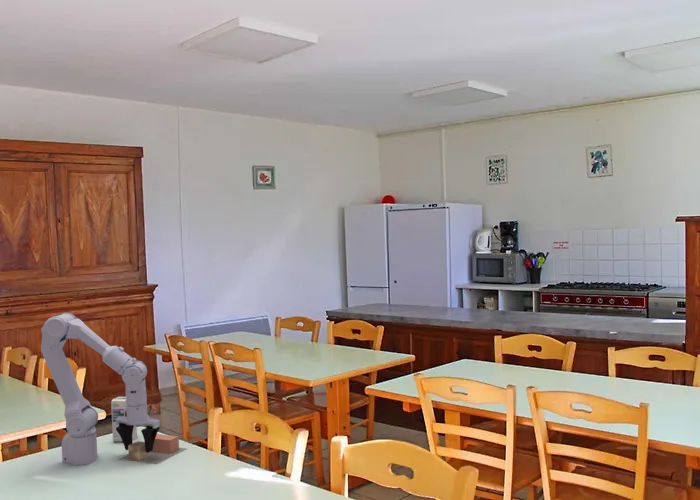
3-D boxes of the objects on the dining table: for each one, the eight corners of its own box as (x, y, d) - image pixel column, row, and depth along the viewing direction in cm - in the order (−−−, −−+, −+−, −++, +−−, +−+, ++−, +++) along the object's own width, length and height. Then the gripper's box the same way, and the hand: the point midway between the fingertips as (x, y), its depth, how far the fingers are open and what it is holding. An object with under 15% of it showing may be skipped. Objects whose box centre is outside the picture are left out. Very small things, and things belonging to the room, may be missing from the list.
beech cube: (128, 459, 192) (128, 445, 192) (138, 454, 195) (137, 441, 195) (139, 460, 190) (139, 446, 190) (148, 455, 194) (148, 442, 194)
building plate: (118, 462, 192) (118, 459, 192) (150, 447, 205) (150, 444, 205) (156, 467, 186) (156, 464, 186) (187, 451, 199) (187, 448, 199)
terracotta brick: (148, 451, 198) (148, 437, 198) (157, 447, 202) (157, 434, 202) (170, 453, 195) (169, 440, 195) (179, 449, 199) (178, 436, 199)
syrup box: (112, 446, 208) (110, 400, 207) (121, 440, 214) (119, 395, 213) (129, 446, 207) (127, 400, 206) (138, 440, 213) (136, 395, 212)
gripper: (165, 402, 193) (167, 448, 193) (126, 399, 199) (129, 443, 199) (149, 408, 187) (151, 456, 187) (109, 405, 192) (112, 451, 193)
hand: (138, 450), depth 193 cm, fingers open, 7 cm apart
